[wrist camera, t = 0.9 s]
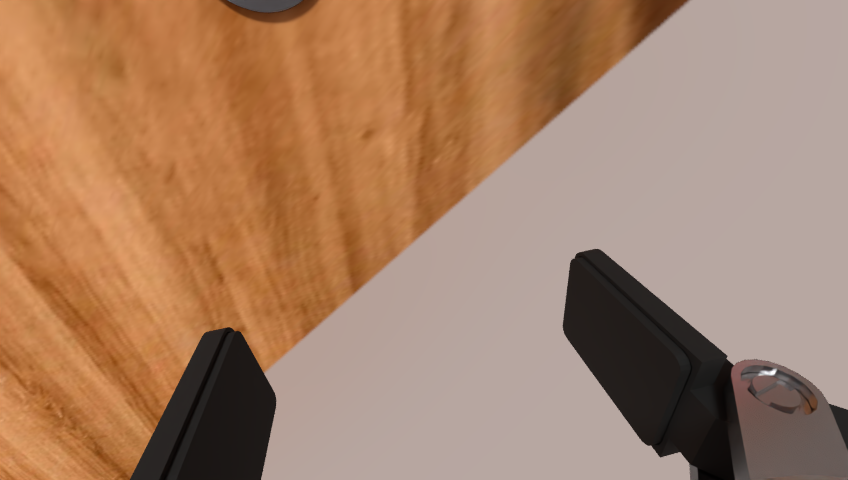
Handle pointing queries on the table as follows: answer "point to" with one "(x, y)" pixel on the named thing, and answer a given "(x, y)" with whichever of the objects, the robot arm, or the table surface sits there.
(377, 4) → the table surface
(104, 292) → the table surface
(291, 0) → the mat
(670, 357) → the robot arm
